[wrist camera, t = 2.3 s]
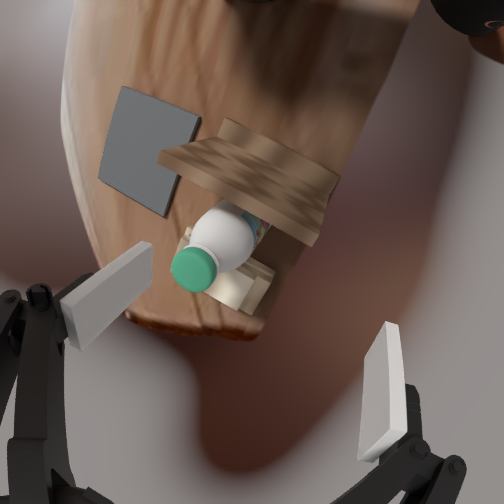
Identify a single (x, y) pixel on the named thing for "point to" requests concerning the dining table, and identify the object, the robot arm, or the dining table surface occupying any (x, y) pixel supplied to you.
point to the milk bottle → (217, 245)
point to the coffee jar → (471, 15)
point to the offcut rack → (254, 196)
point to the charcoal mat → (144, 147)
